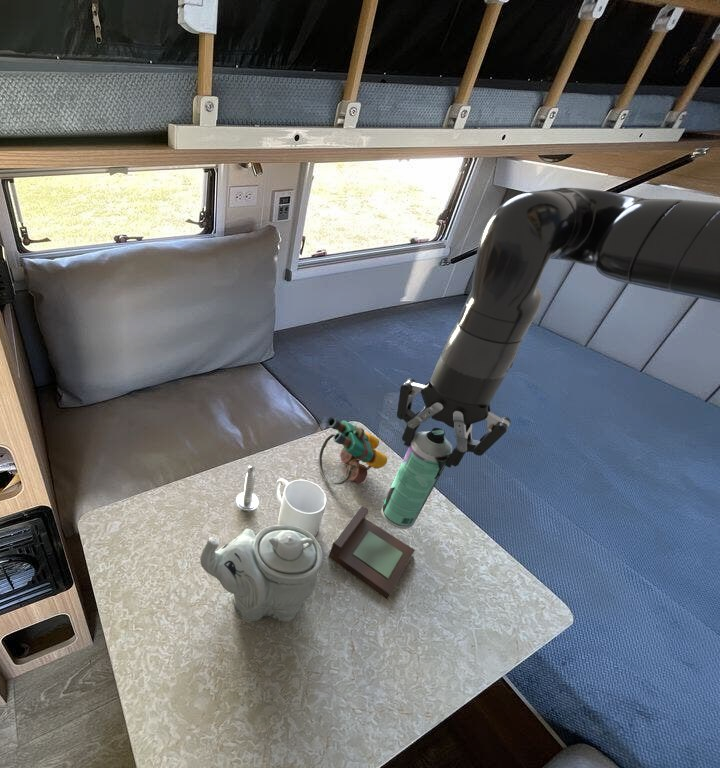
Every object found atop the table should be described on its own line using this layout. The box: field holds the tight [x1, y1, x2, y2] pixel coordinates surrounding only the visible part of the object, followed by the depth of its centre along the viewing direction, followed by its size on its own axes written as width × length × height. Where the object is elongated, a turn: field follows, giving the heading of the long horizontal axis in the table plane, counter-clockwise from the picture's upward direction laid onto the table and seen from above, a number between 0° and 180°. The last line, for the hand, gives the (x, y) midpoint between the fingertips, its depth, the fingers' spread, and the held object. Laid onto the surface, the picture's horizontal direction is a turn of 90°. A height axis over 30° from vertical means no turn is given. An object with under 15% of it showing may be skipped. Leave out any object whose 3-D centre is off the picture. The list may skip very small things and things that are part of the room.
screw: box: [235, 465, 259, 513], centre depth 85 cm, size 13×5×5 cm
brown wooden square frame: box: [327, 505, 416, 601], centre depth 78 cm, size 12×12×5 cm
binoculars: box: [318, 416, 388, 486], centre depth 94 cm, size 14×14×15 cm
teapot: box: [199, 524, 324, 623], centre depth 68 cm, size 16×15×19 cm
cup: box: [274, 478, 328, 538], centre depth 83 cm, size 8×12×10 cm
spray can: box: [380, 427, 453, 530], centre depth 65 cm, size 6×6×20 cm
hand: (428, 453), depth 61 cm, fingers closed on spray can, 5 cm apart
